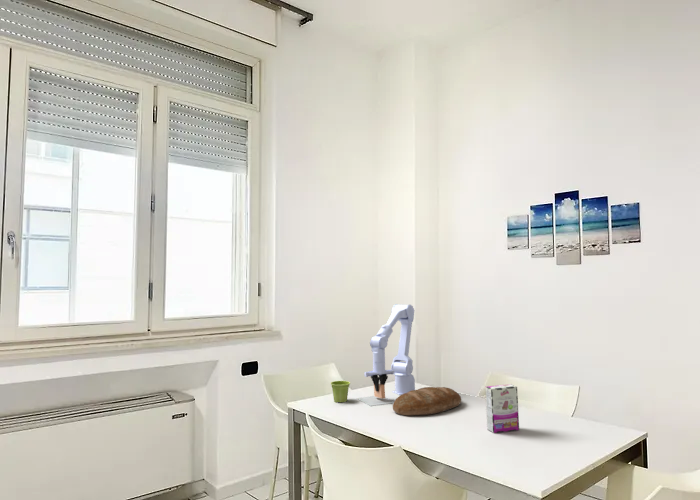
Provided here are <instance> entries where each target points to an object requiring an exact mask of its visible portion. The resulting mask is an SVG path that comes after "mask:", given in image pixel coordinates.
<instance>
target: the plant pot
mask: <svg viewBox="0 0 700 500" xmlns="http://www.w3.org/2000/svg"><path fill="white" fill-rule="evenodd" d="M350 385H351V382H350V381H348V380H335V381H334V380H333V381H331V382H330V386H331V388H332V395H333V401H334V402H335V401H336V402H335V403H337V402H340V403H345V402H348V396H349V388H350Z"/></svg>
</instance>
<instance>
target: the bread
mask: <svg viewBox="0 0 700 500" xmlns="http://www.w3.org/2000/svg"><path fill="white" fill-rule="evenodd" d="M461 403H462V397H461V395H460V394H459V393H458V392H457V391H455V390H454V389H452V388H450V387H445V386H442V387H441V386H437V387H435V386H429V387H428V386H427V387H421V388H417V389H415V390H412V391H409V392H407V393H404V394H402V395H398V396H397V398H396V399H395V400H394V403H392V410H393V411H394V412H395V414H398V415H401V416H406V417H407V416H430V415H434V414H439V413H442V412H446V411H449V410H451V409H454V408H456V407H458V406H460V404H461Z"/></svg>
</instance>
